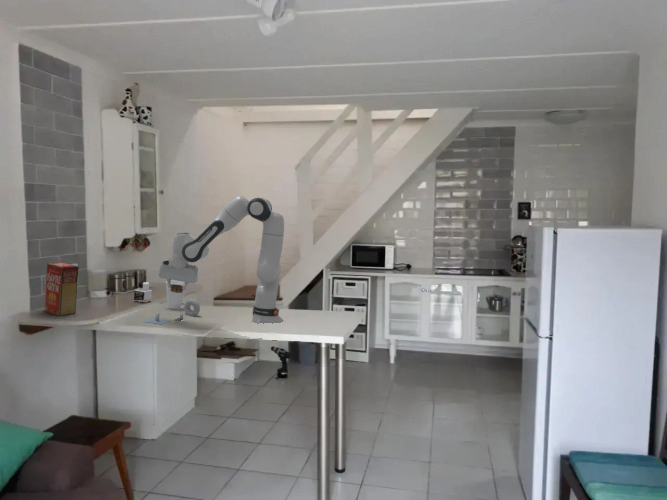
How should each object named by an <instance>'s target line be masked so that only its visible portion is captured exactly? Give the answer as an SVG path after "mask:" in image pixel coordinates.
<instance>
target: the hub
mask: <svg viewBox="0 0 667 500" xmlns="http://www.w3.org/2000/svg"><path fill="white" fill-rule="evenodd" d="M160 315H161V313H160V312H156V314H155V317H154V316H152V317H151V318H148V319H146V320H143V322H144V323H148V324H153V325H164V324H166V323H168V322H170V321H171V319H166V318H160Z"/></svg>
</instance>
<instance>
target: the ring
mask: <svg viewBox="0 0 667 500" xmlns="http://www.w3.org/2000/svg"><path fill="white" fill-rule="evenodd" d="M182 287H183V286H182V285H177V284H172V285H171V290H170V291H171V292H175V293H182V292H183V290H182Z"/></svg>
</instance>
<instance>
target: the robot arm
mask: <svg viewBox="0 0 667 500" xmlns="http://www.w3.org/2000/svg"><path fill="white" fill-rule="evenodd" d="M246 216H250V217H251V218H252V219H255V220H257V221H260V222H262V234H261V235H262V236H261V244H260V250H259V255H258V256H259V257H258V261H257V267H256V276H257V277H256V278H257V279H258V281H257V285H256V290H255V298H254V305H253V308H252V319H251V323H252V322H254V323H257V324H259V323H263V324H264V323H272V324H273V323H281V322H283V321H285V320H284V319H283V317H281V316H280V315H279V314H280V308H277V307H276V306H277V297H278V291H279V290H278V289H279V284H280V279H281V271H282V267H281V264H280V263H281V262H280V261H281V257H282V251H283V244H284V235H285V220H284V219H285V218H284V216H283V215H282V214H280V213H279V212H274V211H273V206H272V203H271V202H270V201H269V200H268V199H266V198H264V197H255V198H252V199H251V200H248V199H247V197H244V196H242V195H237V196H236V197H234V198H233V199H232V200H230V201H229V202H228V203H227V204H225V206H223V208H222V209H221V210H220V211H219V212H218V214H217V215H216V216H215V217H214V219H213V220H212V222H211V223H210V224H209V225H208V226H207V227H206V229H204V231H203V232H201V233H200V234H199V235H198V236H197V237H194V236H193V235H192V234H191V233H190V232H179V233H177V234H175V235H174V237H173V242H172V254H171V258H168V259H163V260H161V265H160V267H159V271H158V277H159V278H160V279H165V280H166V281H167V282H168V284H169V285H168V288H171V285H172V284H171V282H170V281H171V280H176V281H182V282H184V284H185V285H184V286H183V287H182V290H185V291H186V289H187V286H189V283H191V284H196V283H197V282H198V272H199V268H198V266H196V265H193V264H190V263H196V262H198V261H199V260H202V259H204V258H206V257H207V255H208V253H209V251H210V250H209V249H210V248H209V245H210V244H211V243H212V242H213V240H215V239H216V238H217V237H219V236H220V235H223V234H225V233H227V232H229V231H231V230H232V229H233V228H235V227H236V226H238V224H239V223H240V222H241V221H242V220H244V219H245V217H246Z"/></svg>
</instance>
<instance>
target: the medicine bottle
mask: <svg viewBox="0 0 667 500" xmlns="http://www.w3.org/2000/svg"><path fill="white" fill-rule="evenodd" d="M152 292H153V290H152V289H150V282H148V281H139V282H138V285H137V289H134V291H133V293H134V294H133V301H134V300H146V299H150V298H151V299H152V295H153V294H152Z"/></svg>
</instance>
